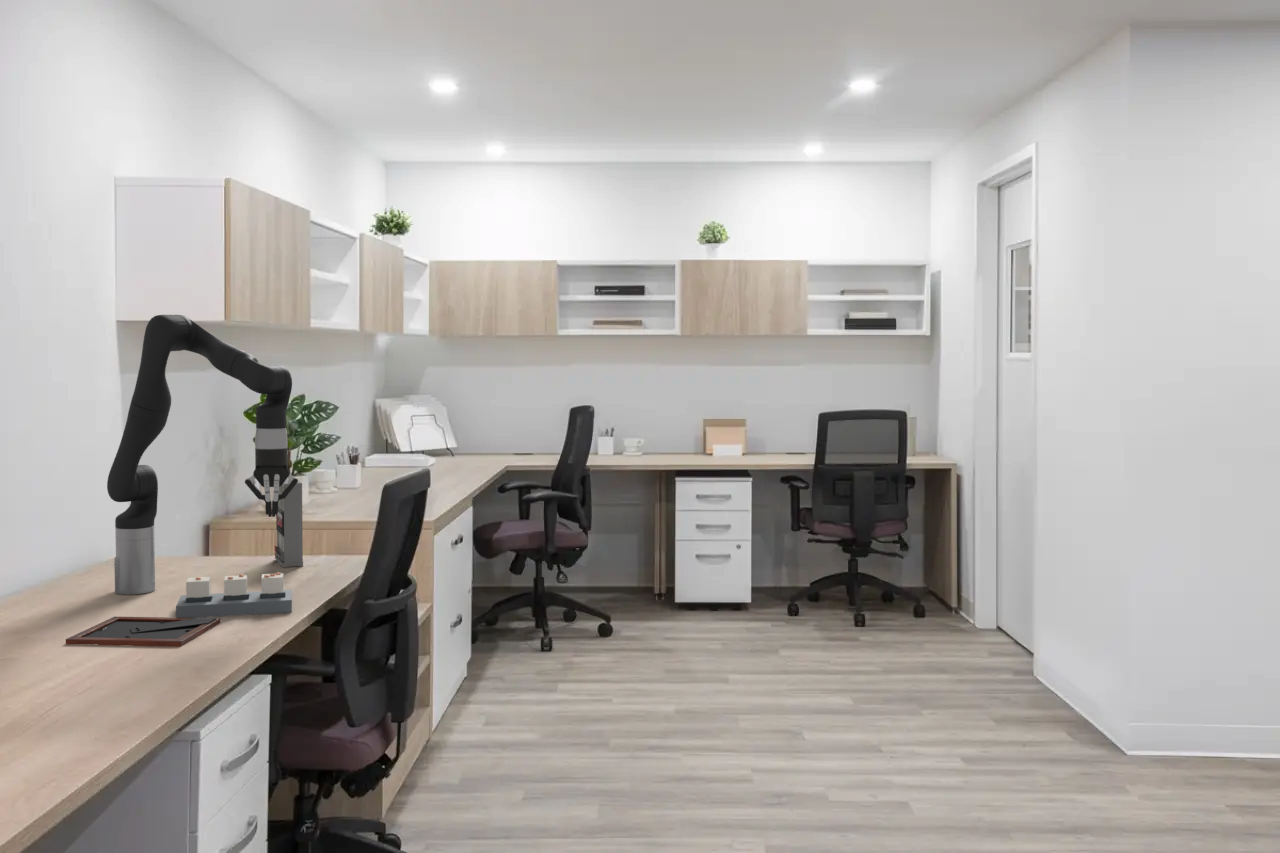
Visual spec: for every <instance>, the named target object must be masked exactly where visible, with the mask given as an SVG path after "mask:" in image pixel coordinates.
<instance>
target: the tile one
mask: <svg viewBox="0 0 1280 853" xmlns="http://www.w3.org/2000/svg"><path fill="white" fill-rule="evenodd" d="M185 582H186V583H185V590H186V593H185V595H186V598H190V597H194V598H203V597H208V596H209V595H210V594H211V576H203V577H202V576H200V577H199V576H197V577H188V578H187V579H186V581H185Z"/></svg>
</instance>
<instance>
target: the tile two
mask: <svg viewBox="0 0 1280 853" xmlns="http://www.w3.org/2000/svg"><path fill="white" fill-rule="evenodd" d="M223 582H224V583H223V584H224V585H223V588H224V589H223V591H224V592H223V593H224V596H227V595H231V596H240V595H246V594H247V592H248V574H243V573H241V574H240V573H239V574H236V575H225V576H224V580H223Z"/></svg>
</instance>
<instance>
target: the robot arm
mask: <svg viewBox="0 0 1280 853" xmlns="http://www.w3.org/2000/svg"><path fill="white" fill-rule="evenodd" d="M181 351H188V352H191V353H194V354H198V355H201V356H202V357H204V358H206V359H207V360H208V361H209V363H210V364H211V365H212V366H213V367H214V368H215V369H216V370H218V371H220V372H221V373H223V374H225V375H227V376H229V377H231V378H234V379H235V380H238V381H239V382H241V384H243V385H244V386H245V387H247V388H248V389H249V390H251V391H253V392H254V393H257V394H260V395H266V397H265V401H264V402H263V403H262V404H261V403H260V404H259V405H258V406H257V407H256V409H255V410H256V411H255V414H256V415H255V434H254V437H255V438H254V446H255V447H254V450H255V451H254V452H255V453H254V454H255V456H254V457H255V458H254V459H255V462H254V464H255V465H254V466H255V468H254V471H253V472H252V475H250V477H247V478H245V480H244V484H245V485H246V487H248V489H249V490H250V491H251V492H252V494H254V496H255V497H256V499H258V500H261V501H263V502H264V504H265V508H264V509H265V514H266V515H268V517H269V518H271V517H274V518H275V517H276V514H277V513H278V501H279V500H281V499H285V498H286V496H287V495H288V494H289V492H290V491H291V490H292V489H293V487H294V486H295V485H296V484H297V482H298V481H299V478H298V477H295V476H293V475H292V474H291V472H290V470H289V467H288V466H289V465H288V464H289V463H288V461H289V458H288V457H289V456H288V450H289V449H288V448H289V447H288V445H289V442H288V432H287V409H288V407H289V406H288V405H289V401H290V397H291V394H292V388H293V378H292V375H291V373H290V371H289V370H288V368H287V367H285V366H282V365H278V364H277V365H270V364H269V365H265V364H263V363H262V364H261V363H259V360H258V359H257V358H256V357H255V356H254V355H253V354H251V353H249V352H246V351H245V350H242V349H240V348H238V347H236V346H234V345H233V344H229V343H228V342H226V341H224V340H222V339H220V338H218V337H217V336H216V335H214V334H213V333H211V332H209V331H208V330H206V329H205V328H204V327H202V326H201V325H200V324H198V323H197V322H196V321H194V320H193V319H191V317H187V316H185V315H182V314H158V315H157V314H156V315H154V316H153V317H151V318H150V320H149V321H148V323H147V325H146V327H145V331H144V335H143V341H142V351H141V357H140V363H139V364H140V365H139V369H138V373H137V377H136V382H135V387H134V390H133V394H132V397H131V400H130V404H129V408H128V414H127V418H126V422H125V425H124V429H123V433H122V436H121V440H120V443H119V445H118V449H117V452H116V453H115V454H116V455H115V457H114V459H113V461H112V465H111V467H110V470H109V472H108V477H107V482H106V483H107V484H106V489H107V494H108V496H109V498H110V499H111V500H112V501H114V502H117V503H128V502H130V504H129V507H127V508H126V509H125V510H124V511H123V512H121V513H119V514H118V515H117V516H116V517H115V519H114V520H115V521H114V523H115V524H114V525H115V527H114V528H115V557H114V559H113V561H114V567H113V568H114V594H115V595H140V594H148V593H152V592H154V591H155V590H156V559H155V554H156V552H155V550H156V549H155V547H156V546H155V544H156V543H155V541H156V539H155V519H156V517H157V513H158V498H159V497H158V496H159V495H158V493H159V485H158V484H159V483H158V476H157V473H156V471H155V470H154V468H153V467H151V466H150V465H149V464H140V460H141V459H142V456H143V454H144V453H145V452H146V451H147V449H148V448H149V447H150V445H151V444H152V443H153V442H154V441H155V440H156V439H157V438H158V437H159V435H160V434H161V433H162V431H163V430H164V429H165V428H166V424H167V421H168V417H169V415H170V414H169V413H170V410H171V407H172V394H171V392H170V387H169V384H168V381H167V377H166V369H167V364H168V360H169V356H170V354H171V352H181ZM287 478H288V484H289V485H288V486H287V487H286V488H285V490H284V491H283V492H282V493H281V494H279V487H280V486H282V484H283V483H284V482H285V480H286V479H287ZM256 481H257V482H258V483H259V485H260V486H261V487H263V488H264V493H262V492H261V490H259V488H258V487H257V486H256ZM271 488H273V490H272V491H273V494H272V495H273V496H272V497H271ZM271 498H272V500H271Z"/></svg>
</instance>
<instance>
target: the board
mask: <svg viewBox="0 0 1280 853" xmlns="http://www.w3.org/2000/svg"><path fill="white" fill-rule="evenodd" d="M292 594H293V589H283V593H277V594H268V593H264V594H262V590H257V591H256V590H255V591H247V594H246V595H240V596H231V595H227V596H224V592H222V593H221V592H218V593H217V592H216V593H210V595H209V596H208V597H203V598H194V597H190V598H186V594H183V595H182V594H181V595H180V597H179V598H178V601H177V603H176V606H175V618H218V617H228V616H232V617H234V616H246V615H247V616H248V615H263V614H264V615H265V614H267V615H268V614H283V613H292V612H293V600H292V599H293V598H292V597H293V595H292Z"/></svg>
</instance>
